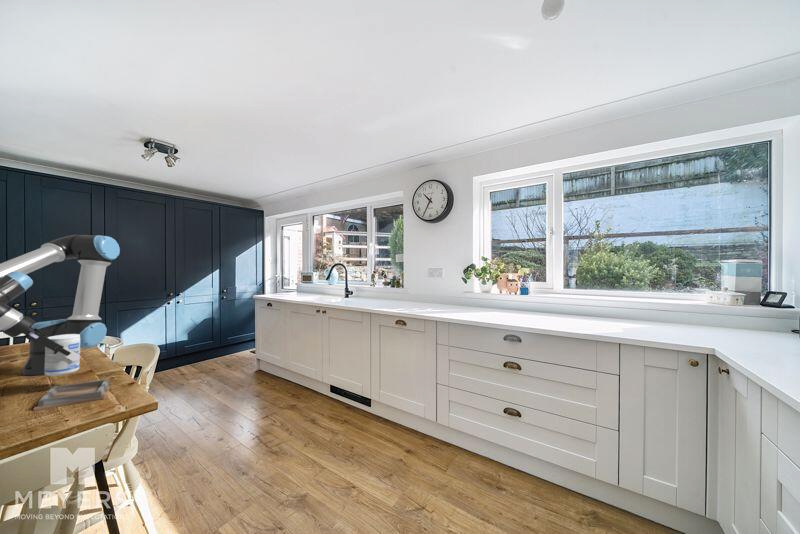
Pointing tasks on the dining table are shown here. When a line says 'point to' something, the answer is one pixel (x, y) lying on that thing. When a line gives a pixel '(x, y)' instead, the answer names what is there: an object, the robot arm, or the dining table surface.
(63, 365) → the supplement tub
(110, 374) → the dining table surface
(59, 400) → the dock
